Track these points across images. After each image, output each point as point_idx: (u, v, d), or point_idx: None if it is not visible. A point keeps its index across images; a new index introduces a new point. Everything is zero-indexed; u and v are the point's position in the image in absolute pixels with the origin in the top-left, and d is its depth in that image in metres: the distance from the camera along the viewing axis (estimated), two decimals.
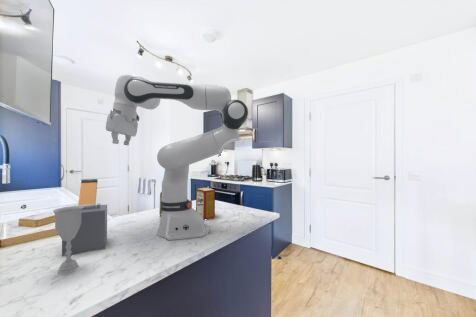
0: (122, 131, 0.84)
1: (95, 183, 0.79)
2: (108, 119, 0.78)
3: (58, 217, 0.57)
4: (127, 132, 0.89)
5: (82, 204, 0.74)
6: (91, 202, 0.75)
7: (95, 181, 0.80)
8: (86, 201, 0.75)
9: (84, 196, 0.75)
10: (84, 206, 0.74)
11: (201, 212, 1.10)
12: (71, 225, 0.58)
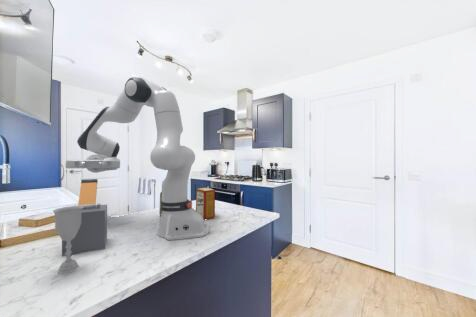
0: (83, 160, 0.89)
1: (95, 183, 0.79)
2: None
3: (58, 217, 0.57)
4: (96, 160, 0.91)
5: (82, 204, 0.74)
6: (91, 202, 0.75)
7: (95, 181, 0.80)
8: (86, 201, 0.75)
9: (84, 196, 0.75)
10: (84, 206, 0.74)
11: (201, 212, 1.10)
12: (71, 225, 0.58)
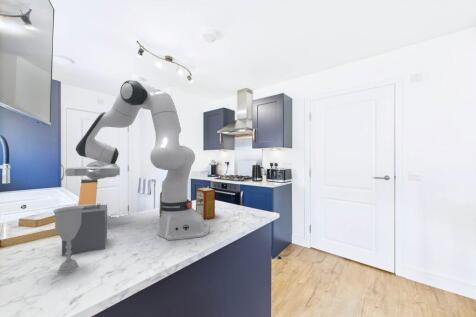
0: (83, 167, 0.89)
1: (95, 183, 0.79)
2: None
3: (58, 217, 0.57)
4: (96, 167, 0.91)
5: (82, 204, 0.74)
6: (91, 202, 0.75)
7: (95, 181, 0.80)
8: (86, 201, 0.75)
9: (84, 196, 0.75)
10: (84, 206, 0.74)
11: (201, 212, 1.10)
12: (71, 225, 0.58)
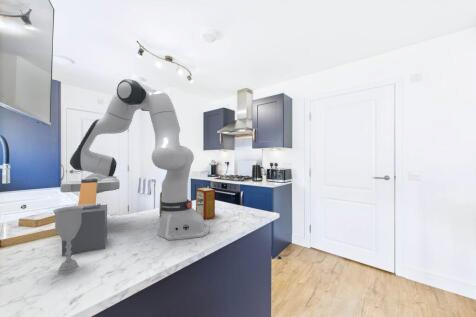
0: (80, 182, 0.82)
1: (95, 183, 0.79)
2: None
3: (58, 217, 0.57)
4: None
5: (82, 204, 0.74)
6: (91, 202, 0.75)
7: (95, 181, 0.80)
8: (86, 201, 0.75)
9: (84, 196, 0.75)
10: (84, 206, 0.74)
11: (201, 212, 1.10)
12: (71, 225, 0.58)
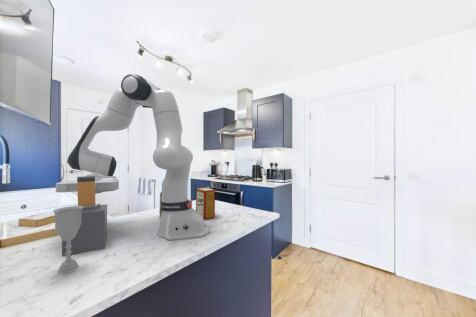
0: None
1: (93, 182, 0.74)
2: None
3: (58, 217, 0.57)
4: None
5: (82, 205, 0.73)
6: (91, 203, 0.74)
7: (92, 180, 0.74)
8: (85, 202, 0.74)
9: (83, 197, 0.73)
10: (84, 207, 0.74)
11: (201, 212, 1.10)
12: (71, 225, 0.58)
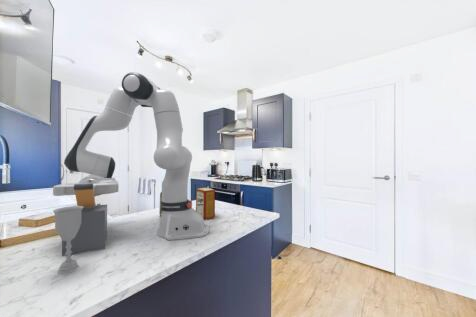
0: None
1: (91, 190, 0.70)
2: None
3: (58, 217, 0.57)
4: None
5: None
6: (91, 205, 0.74)
7: (90, 189, 0.70)
8: (85, 204, 0.73)
9: (82, 201, 0.72)
10: (84, 208, 0.74)
11: (201, 212, 1.10)
12: (71, 225, 0.58)
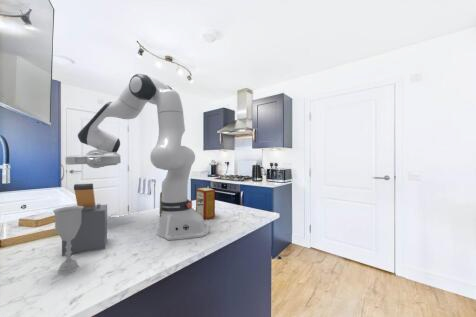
0: (83, 155, 0.88)
1: (91, 190, 0.70)
2: None
3: (58, 217, 0.57)
4: (96, 155, 0.90)
5: None
6: (91, 205, 0.74)
7: (90, 189, 0.70)
8: (85, 204, 0.73)
9: (82, 201, 0.72)
10: (84, 208, 0.74)
11: (201, 212, 1.10)
12: (71, 225, 0.58)
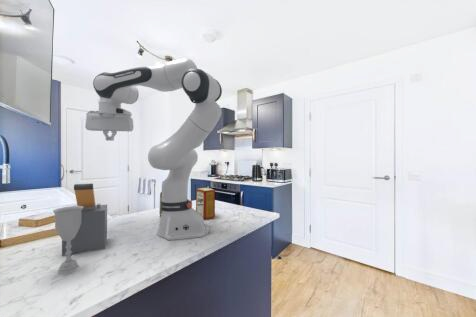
0: (99, 128, 0.93)
1: (91, 190, 0.70)
2: None
3: (58, 217, 0.57)
4: (109, 128, 0.93)
5: None
6: (91, 205, 0.74)
7: (90, 189, 0.70)
8: (85, 204, 0.73)
9: (82, 201, 0.72)
10: (84, 208, 0.74)
11: (201, 212, 1.10)
12: (71, 225, 0.58)
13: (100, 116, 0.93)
